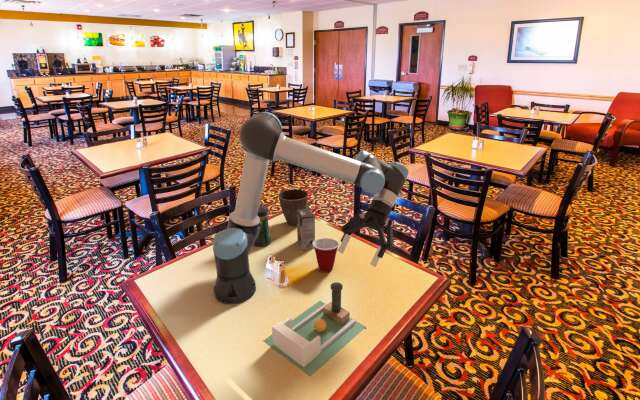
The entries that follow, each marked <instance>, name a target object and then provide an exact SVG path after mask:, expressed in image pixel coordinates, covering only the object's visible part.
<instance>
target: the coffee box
mask: <svg viewBox="0 0 640 400" xmlns="http://www.w3.org/2000/svg"><path fill="white" fill-rule="evenodd" d="M296 214H297V226H296V235H297V243H298V244H299V246H300V249H301V250H302V251H303V250H309V249H310V250H311V249H314V246H313V244H312V243H313V241H315V240H316V217H315V214H314V212H313V211H312V210H311V209H310V208H309V207H308V208H306V209H299V210H296Z"/></svg>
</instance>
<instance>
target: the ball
mask: <svg viewBox="0 0 640 400" xmlns="http://www.w3.org/2000/svg"><path fill="white" fill-rule="evenodd" d="M314 328H315V330H316V331H318V332H322V331H324V330H325V329H326V322H325V320H323V319H317V320H316V321H315V322H314Z"/></svg>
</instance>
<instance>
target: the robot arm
mask: <svg viewBox="0 0 640 400" xmlns="http://www.w3.org/2000/svg"><path fill="white" fill-rule="evenodd" d="M239 129H240V130H239V132H238V133H239V136H238V137H239V141H240V144H241V146H242V150H243V151H244V153H245V156H244V162H243V167H242V171H241V177H240V183H239V188H238V191H237V198H236V203H235V207H234V210H233V211H232V212H230V214H229V218H228V221H227V227H226V228H225V229H222V230H220V231H218V232H217V233H216V234H215V235H214V238H213V241H212V251H213V255H214V263H215V269H216V278H215V284H214V288H213V293H214V294H213V295H214V297H215V299H216V300H217V301H218V302H220V303H222V304H230V305H231V304H240V303H243V302H245V301H247V300H249V299H251V298H252V297H253V296H254V295H255V293H256V291H257V285H256V281H255V278H254V277H253V274H252V273H251V270H250V263H249V262H250V261H249V260H250V259H249V255H250V253H251V250H252V248H253V244H254V242H255V241H256V239H257V237H258V235H259V223H260V218H259V217H258V216H257V214H258V209H259V206H261V205H260V203H261V200H262V195H263V191H264V187H265V181H266V178H267V172H268V168H269V164H270V161H271V162H276V161H282V162H285V163H286V164H287V163H288V164H291V165H294V166H297V167H300V168H303V169H307V170H308V171H312V172H316V173H319V174H321V175H325V176H328V177H331V178H334V179H337V180H339V181H343V182H347V183H349V184H352V185H355V186H358V187H360V188H361V189H362V190H363V192H365V193H367V194H370V195H373V194H374V195H373V197H372V198H373V199H372V200H371V202H370V203H369V205H368V208H367V211H366V212H364V211H362V209H359V210H358V211H357V212H356V214H355V215H354V216H353V217H352V218H350V220H348V221H347V222H346V223H345V224H344V225H342V227H341V228H340V230H341V231H342V232H343V234H342V237H341V238H340V244H339V246H338V249H337V251H338V252H339V253H340V254H344V252H345V250H346V248H347V246H348V243H349V242H350V241H351V240H350V239H351V238H352V237H351V235H353V234H354V233H357V232H358V231H360V230H362V229H363V228H366V227H368V228H369V229H373V230H375V231H376V230H377V234H378V238H379V242H380V245H378V247H377V249H376V251H375V253H374V255H373V257H372V259H371V262H370V263H369V264H370V266H372V267H374V268H376V266H377V265H378V263H379V260H380V259H382V258H384V255H385V253H386V251H387V250H392V251H393V249H394V233H393V232H394V226H395V222H394V221H393V220H392V219H388V218H389V217H390V214H391V212H392V211H393V210H392V208H394V205H395V204H396V202H397V199H398V197H399V195H400V192H401V191H402V189H403V187H404V185H405V183H406V181H407V179H408V176H409V173H410V172H409V168H408V167H407V166H406V165H405V164H402V163H400V162H398V161H392V162H390V163H389V164H388V163H386V162H385V161H383V160H381V159H380V158H378V157H377V156H375V155H374V154H372V152H368V151H366V150H364V149H363V150H360V151H359V152H358V153H357V155H356V157H355V158H351V157H348V156H345V155H342V154H339V153H335V152H333V151H330V150H327V149H325V148H321V147H318V146H315V145H312V144H309V143H305V142H302V141H300V140H297V139H294V138H291V137H288V136H286V135H285V134H284V132H283V125H282V123H281V121H280V120H279V118H278V116H276V115H275V114H273V113H271V112H267V111H262V112H257V113H255V114H253V115H252V116H251V117H250V118H248V119H247V120H246V121H244V122H243V124H242V125H241V127H240V128H239ZM384 225H386V237H385V233H384V228H383V226H384Z"/></svg>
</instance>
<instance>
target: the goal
mask: <svg viewBox="0 0 640 400" xmlns="http://www.w3.org/2000/svg"><path fill="white" fill-rule="evenodd" d="M292 320H293V319H292V317H290V316H288V317H287V318H285V319H284V320H283V321H278V322H277V323H275V324H273V325H271V332H272V333H271V335H273V345H275V346H276V347H277V348H279V349H280V350H281V351H283V352H284V353H285V354H287V355H288V356H289V357H291V358H292V359H293V360H295V361H296V362H297V363H299V364H300V365H301V366H303V367H305V366H306V365H307V364H308V363H310V362H311V361H312V360H313V359H314V358H315V357H317V356H318V355H319V354H320V353H321V349H320V337H319V336H317V337H315V338H314V339H313V340H312V341H310V342H309V341H308V340H306V339H305V338H303V337H302V336H300V335H299V334H297V333H296V332H294V331H293V330H292Z"/></svg>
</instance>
